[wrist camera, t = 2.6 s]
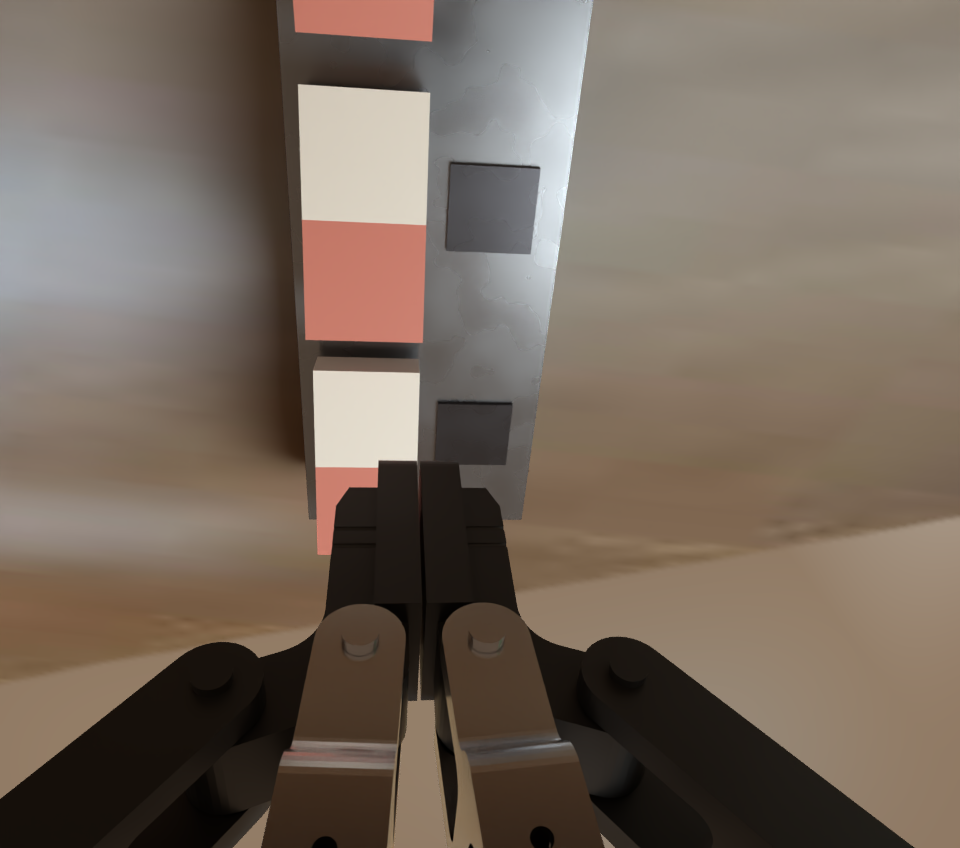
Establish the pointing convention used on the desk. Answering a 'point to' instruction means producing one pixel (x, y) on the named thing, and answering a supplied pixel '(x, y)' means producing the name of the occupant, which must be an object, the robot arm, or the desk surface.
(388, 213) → the block
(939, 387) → the desk surface
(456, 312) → the power strip
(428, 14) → the rocker
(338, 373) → the rocker
